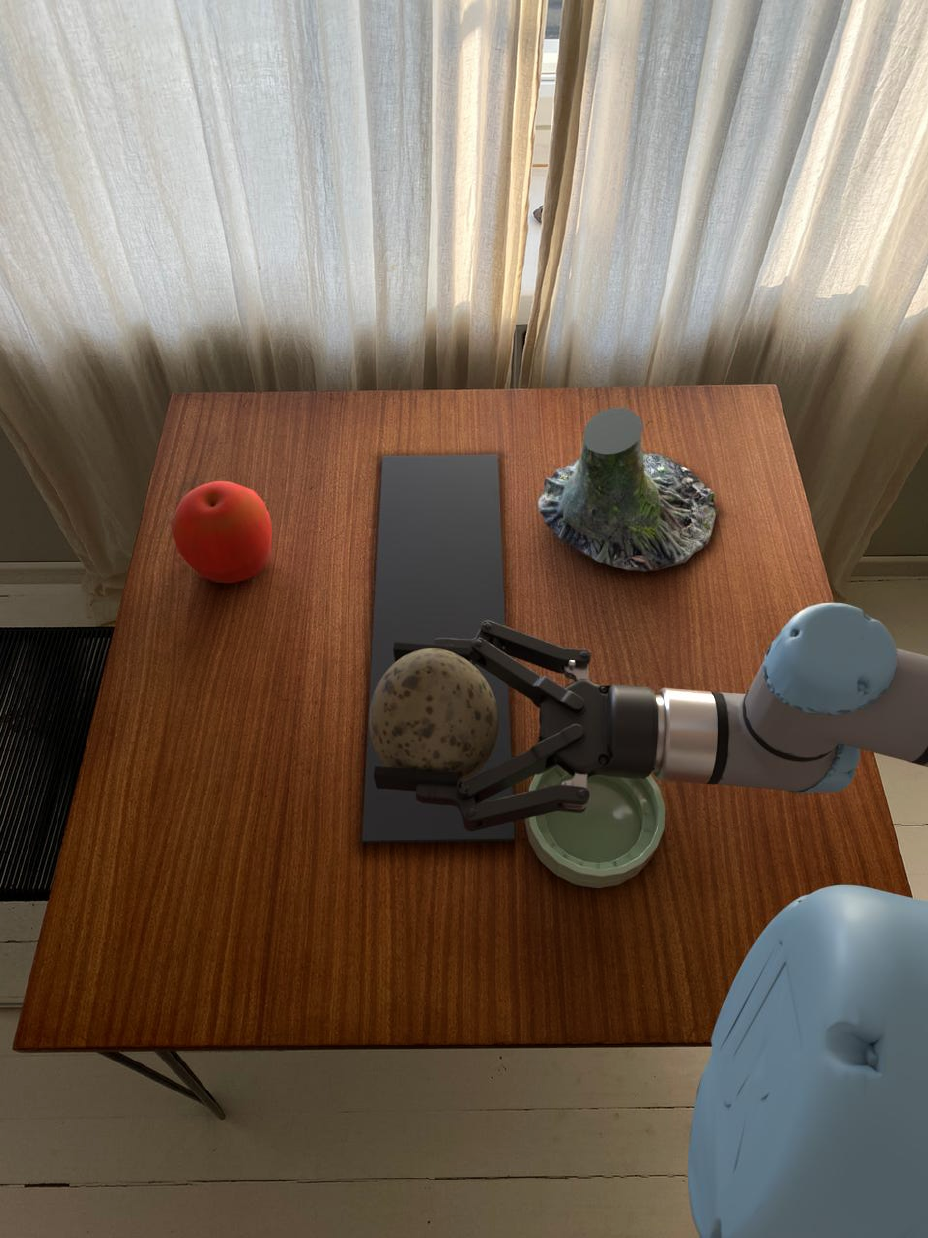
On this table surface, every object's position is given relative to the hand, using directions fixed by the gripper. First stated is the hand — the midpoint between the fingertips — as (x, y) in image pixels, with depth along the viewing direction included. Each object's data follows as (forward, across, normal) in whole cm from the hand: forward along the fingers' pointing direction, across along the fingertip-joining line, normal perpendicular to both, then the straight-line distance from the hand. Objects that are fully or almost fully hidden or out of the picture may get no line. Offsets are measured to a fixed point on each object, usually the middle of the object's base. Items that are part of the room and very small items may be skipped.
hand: (385, 713), depth 72 cm
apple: (+21, +24, -14) cm, 35 cm away
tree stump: (-22, +34, -14) cm, 43 cm away
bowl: (-18, -3, -13) cm, 23 cm away
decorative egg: (-4, 0, -8) cm, 9 cm away
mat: (-2, +18, -13) cm, 22 cm away
